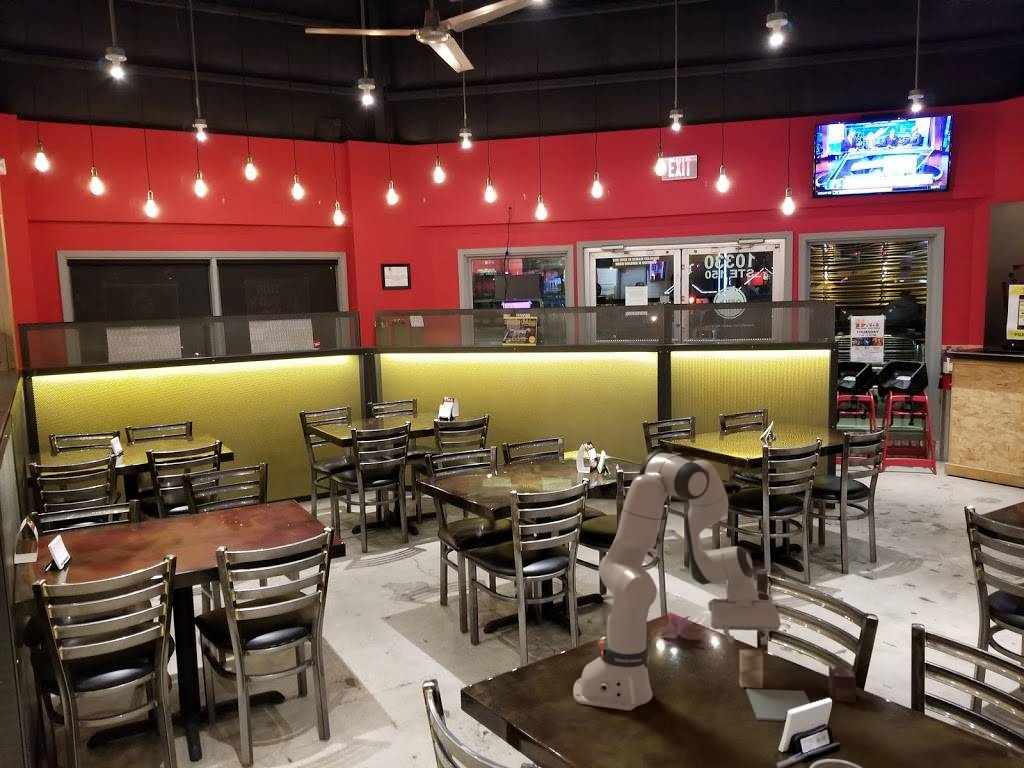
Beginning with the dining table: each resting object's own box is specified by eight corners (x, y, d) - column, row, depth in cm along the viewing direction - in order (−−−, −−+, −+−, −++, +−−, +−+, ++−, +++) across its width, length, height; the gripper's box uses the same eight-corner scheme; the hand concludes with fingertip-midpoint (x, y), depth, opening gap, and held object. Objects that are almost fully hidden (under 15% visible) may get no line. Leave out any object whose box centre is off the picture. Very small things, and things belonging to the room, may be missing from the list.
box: (855, 702, 208) (856, 677, 207) (832, 701, 209) (833, 675, 208) (850, 692, 214) (851, 667, 213) (828, 690, 215) (828, 665, 214)
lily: (699, 640, 253) (689, 611, 256) (699, 640, 242) (689, 610, 245) (665, 650, 254) (655, 621, 258) (663, 650, 243) (654, 620, 247)
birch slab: (741, 687, 218) (741, 654, 217) (739, 682, 221) (739, 649, 220) (762, 688, 217) (762, 654, 216) (760, 683, 220) (760, 650, 219)
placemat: (757, 719, 200) (757, 717, 200) (746, 690, 216) (746, 688, 215) (819, 722, 198) (819, 720, 198) (803, 693, 214) (804, 691, 213)
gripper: (708, 594, 231) (713, 638, 222) (777, 595, 228) (784, 640, 219) (706, 602, 235) (710, 646, 226) (773, 604, 233) (781, 648, 224)
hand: (747, 643), depth 223 cm, fingers open, 8 cm apart
